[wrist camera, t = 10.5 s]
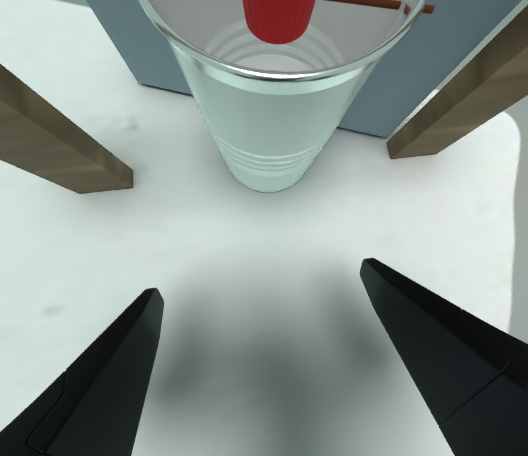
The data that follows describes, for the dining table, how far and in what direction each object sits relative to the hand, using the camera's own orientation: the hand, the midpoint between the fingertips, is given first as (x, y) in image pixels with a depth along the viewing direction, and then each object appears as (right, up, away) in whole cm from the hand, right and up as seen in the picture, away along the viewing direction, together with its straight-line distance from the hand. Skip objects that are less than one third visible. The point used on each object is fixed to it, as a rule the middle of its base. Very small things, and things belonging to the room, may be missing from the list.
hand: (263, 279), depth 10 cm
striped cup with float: (0, +8, +8) cm, 12 cm away
